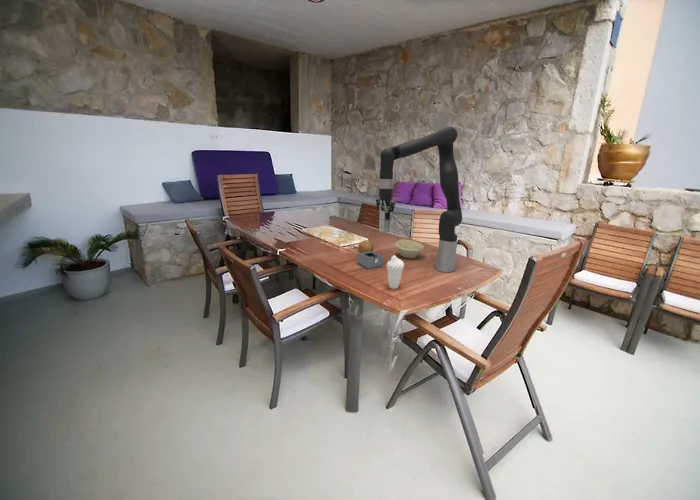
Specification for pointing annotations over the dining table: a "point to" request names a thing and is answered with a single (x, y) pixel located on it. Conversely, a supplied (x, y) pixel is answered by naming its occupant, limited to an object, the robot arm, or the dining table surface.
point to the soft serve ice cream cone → (394, 271)
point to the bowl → (408, 248)
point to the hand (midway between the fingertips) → (384, 218)
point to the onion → (365, 246)
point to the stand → (370, 260)
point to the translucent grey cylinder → (383, 222)
